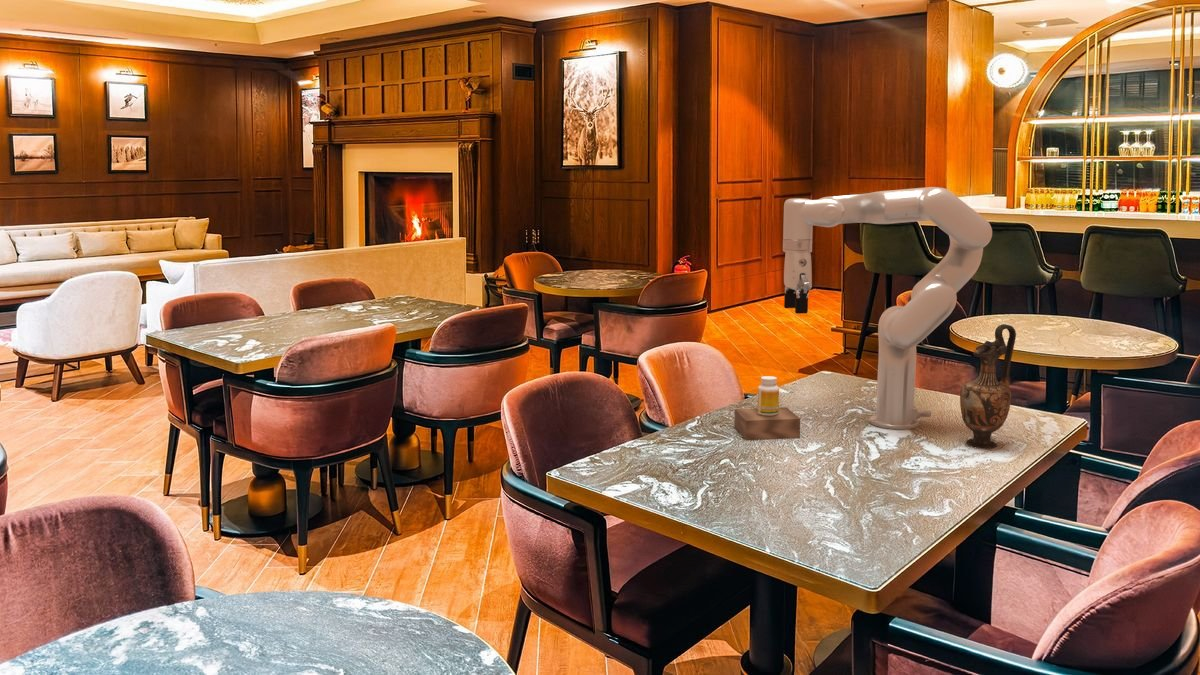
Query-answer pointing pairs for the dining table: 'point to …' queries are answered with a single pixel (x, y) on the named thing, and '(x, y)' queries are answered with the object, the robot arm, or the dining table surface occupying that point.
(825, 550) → the dining table surface
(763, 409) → the supplement bottle
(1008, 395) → the vase
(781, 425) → the walnut plinth
